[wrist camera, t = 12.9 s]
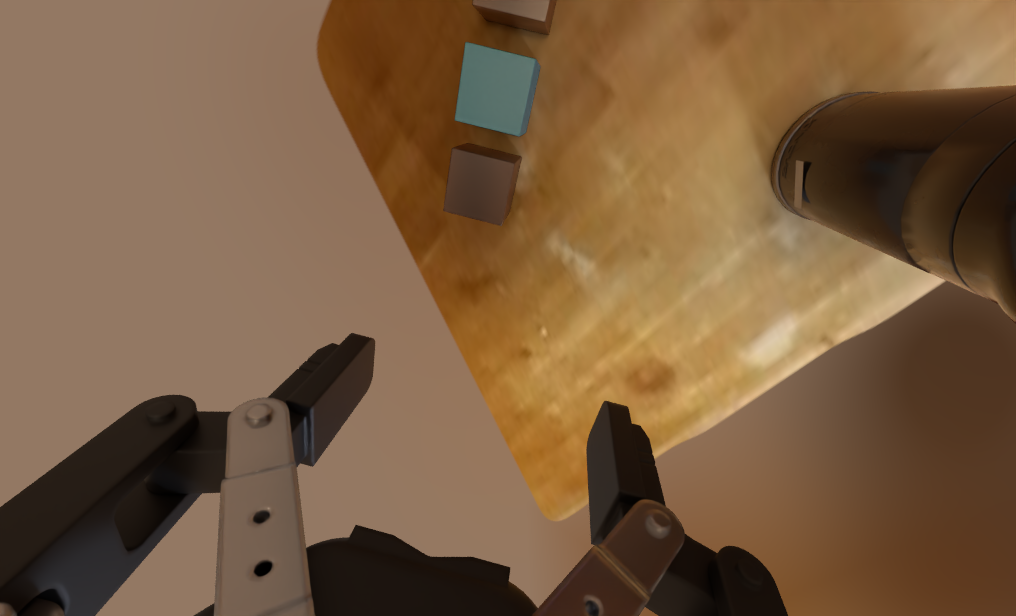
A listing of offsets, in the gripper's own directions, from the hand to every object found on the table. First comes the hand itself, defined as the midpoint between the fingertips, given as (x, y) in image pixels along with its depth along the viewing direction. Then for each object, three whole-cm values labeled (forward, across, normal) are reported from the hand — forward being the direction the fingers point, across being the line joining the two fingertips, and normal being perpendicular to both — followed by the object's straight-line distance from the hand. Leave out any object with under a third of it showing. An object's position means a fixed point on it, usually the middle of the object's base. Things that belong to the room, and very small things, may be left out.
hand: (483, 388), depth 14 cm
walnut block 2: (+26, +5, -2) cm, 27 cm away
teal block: (+26, +5, -9) cm, 28 cm away
